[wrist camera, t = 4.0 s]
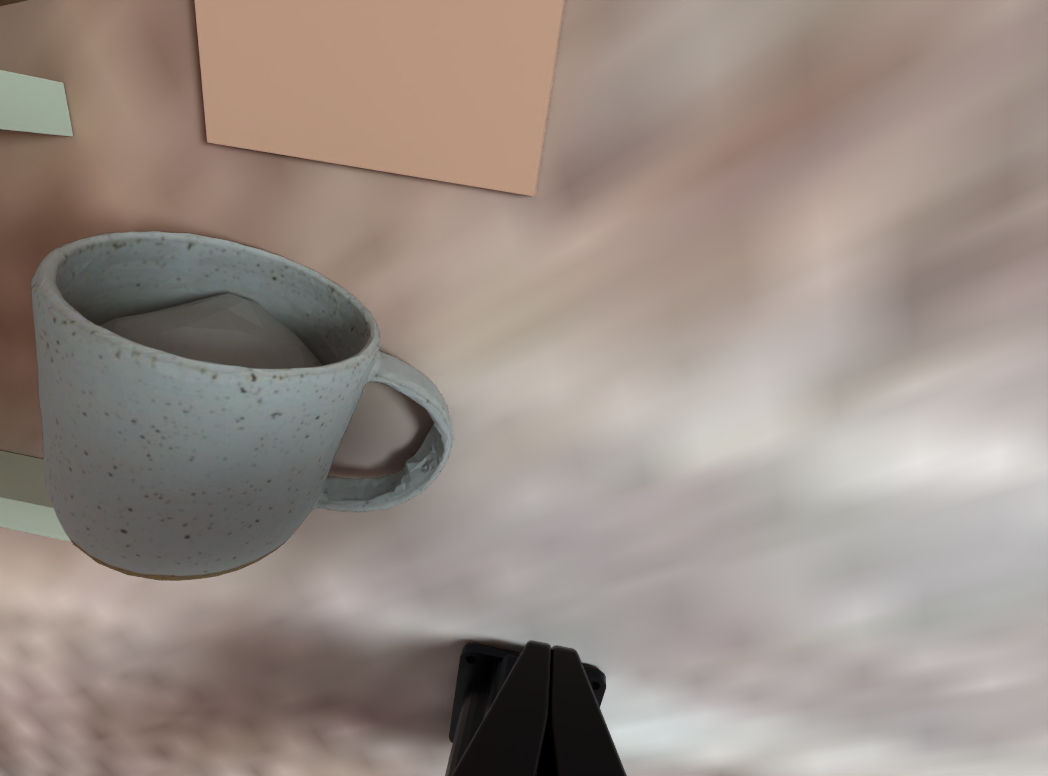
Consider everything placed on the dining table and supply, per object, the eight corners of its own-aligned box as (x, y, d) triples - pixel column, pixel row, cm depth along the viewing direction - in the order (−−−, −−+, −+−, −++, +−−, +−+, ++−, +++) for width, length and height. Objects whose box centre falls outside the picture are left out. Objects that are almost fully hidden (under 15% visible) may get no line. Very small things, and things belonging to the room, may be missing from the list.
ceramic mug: (171, 416, 19) (-58, 548, 12) (202, 216, 16) (-81, 241, 9) (420, 520, 20) (337, 700, 13) (495, 348, 17) (439, 464, 10)
